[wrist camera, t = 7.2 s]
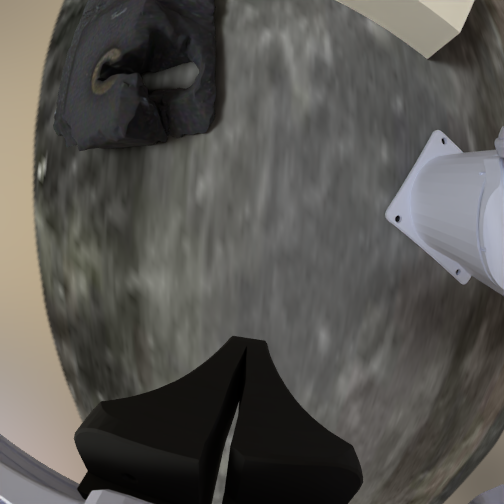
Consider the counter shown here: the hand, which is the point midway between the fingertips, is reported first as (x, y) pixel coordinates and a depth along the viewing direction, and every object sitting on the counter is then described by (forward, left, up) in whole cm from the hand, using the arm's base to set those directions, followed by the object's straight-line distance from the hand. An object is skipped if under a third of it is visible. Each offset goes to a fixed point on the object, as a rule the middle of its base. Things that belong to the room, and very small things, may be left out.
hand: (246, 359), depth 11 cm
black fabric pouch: (+20, -12, -11) cm, 26 cm away
